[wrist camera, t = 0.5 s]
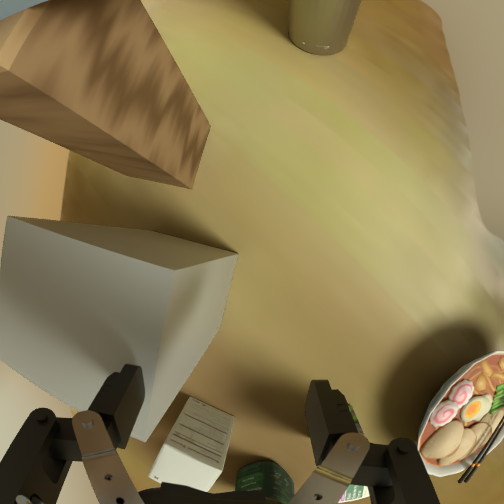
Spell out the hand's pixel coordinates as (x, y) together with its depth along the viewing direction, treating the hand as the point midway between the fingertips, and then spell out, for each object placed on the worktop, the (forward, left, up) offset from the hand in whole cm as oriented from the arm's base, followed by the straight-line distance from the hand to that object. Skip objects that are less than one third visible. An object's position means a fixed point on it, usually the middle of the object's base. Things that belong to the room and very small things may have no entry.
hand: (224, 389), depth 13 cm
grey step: (0, -9, -25) cm, 27 cm away
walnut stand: (-16, -16, -25) cm, 34 cm away
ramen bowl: (+10, +37, -25) cm, 46 cm away
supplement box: (+21, -2, -25) cm, 33 cm away
